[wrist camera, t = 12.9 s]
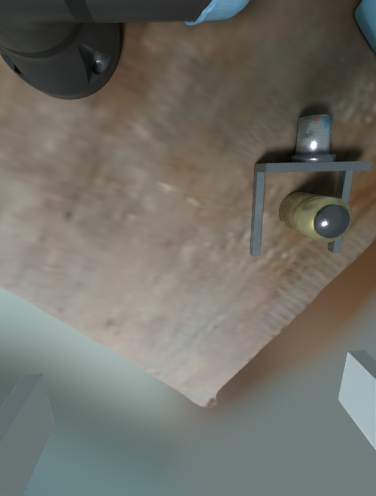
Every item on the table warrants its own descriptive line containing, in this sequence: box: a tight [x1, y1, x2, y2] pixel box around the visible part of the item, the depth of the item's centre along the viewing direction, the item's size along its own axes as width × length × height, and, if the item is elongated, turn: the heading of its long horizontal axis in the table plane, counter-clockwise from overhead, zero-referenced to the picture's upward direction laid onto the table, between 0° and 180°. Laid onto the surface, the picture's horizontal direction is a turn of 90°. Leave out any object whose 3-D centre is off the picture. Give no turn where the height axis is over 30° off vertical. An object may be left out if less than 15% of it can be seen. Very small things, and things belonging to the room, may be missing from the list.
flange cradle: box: [250, 114, 373, 256], centre depth 38 cm, size 21×15×6 cm
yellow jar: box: [279, 192, 352, 243], centre depth 37 cm, size 6×6×10 cm
